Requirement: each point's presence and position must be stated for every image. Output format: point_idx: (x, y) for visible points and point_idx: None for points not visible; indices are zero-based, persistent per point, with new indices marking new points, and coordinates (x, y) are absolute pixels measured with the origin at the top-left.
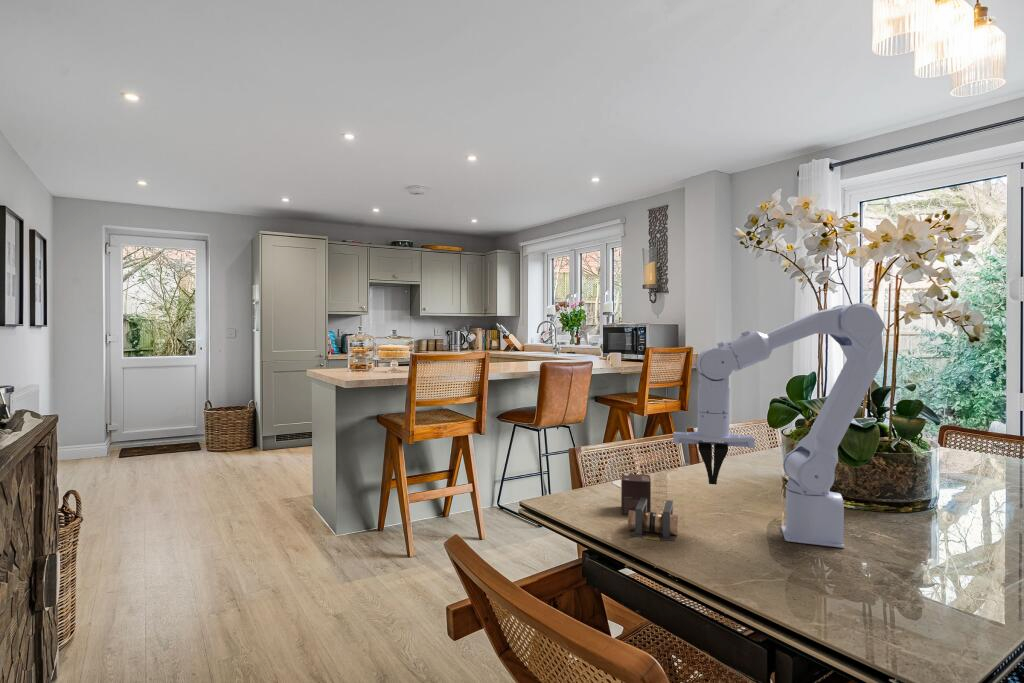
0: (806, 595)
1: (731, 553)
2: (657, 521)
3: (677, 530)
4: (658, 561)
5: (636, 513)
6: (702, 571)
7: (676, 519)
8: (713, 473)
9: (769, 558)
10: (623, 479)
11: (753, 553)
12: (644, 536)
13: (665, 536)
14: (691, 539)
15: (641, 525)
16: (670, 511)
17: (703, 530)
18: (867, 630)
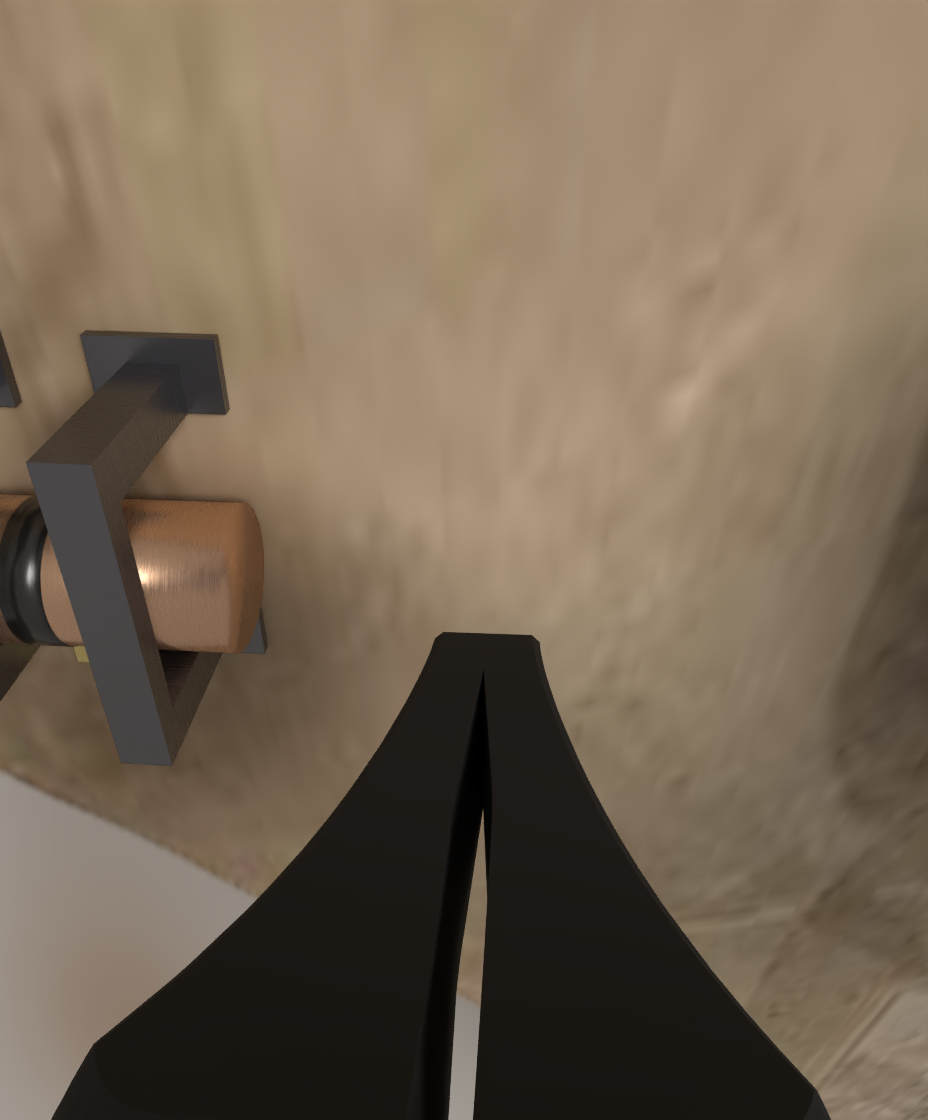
0: (832, 992)
1: (603, 726)
2: None
3: (254, 559)
4: (254, 871)
5: None
6: None
7: (227, 650)
8: (487, 886)
9: (809, 740)
10: None
11: (734, 699)
12: (82, 653)
13: None
14: (365, 589)
15: (21, 665)
16: (162, 698)
17: (435, 383)
18: (924, 1105)
